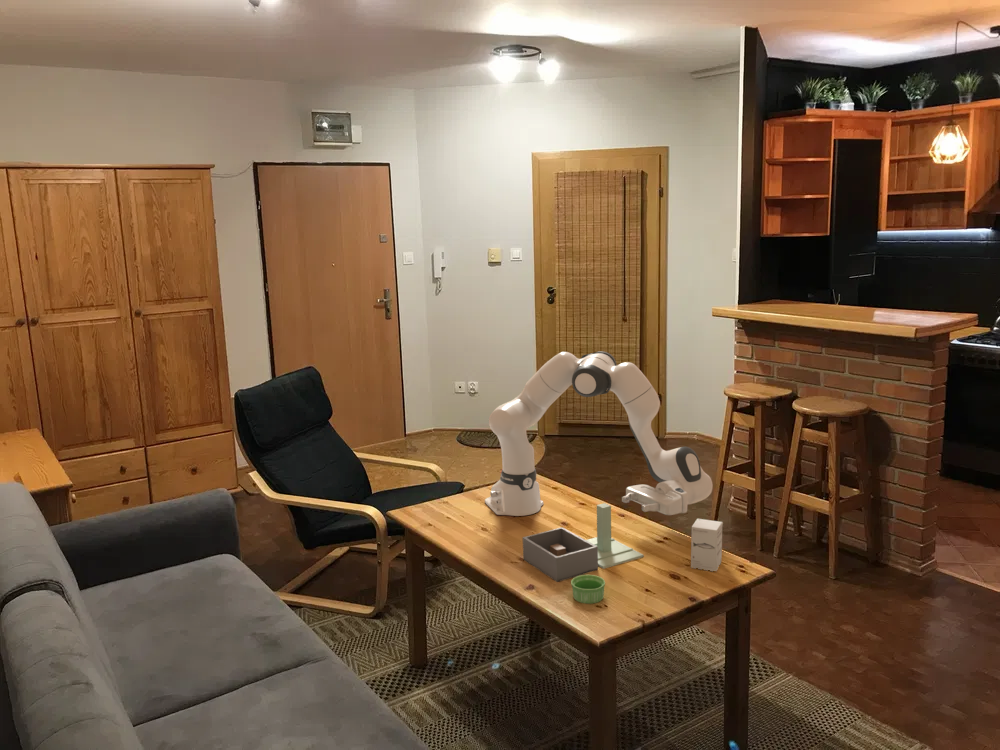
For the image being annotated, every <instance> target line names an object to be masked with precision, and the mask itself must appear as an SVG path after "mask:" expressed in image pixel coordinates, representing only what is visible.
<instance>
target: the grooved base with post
mask: <svg viewBox="0 0 1000 750" xmlns="http://www.w3.org/2000/svg"><path fill="white" fill-rule="evenodd" d="M585 540H586V541H588V542H590V543H592V544H594V545H596V546H597V547H598V568H601V569H603V570H605V569H607V568H610V567H615V566H617V565H621V564H625V563H628V562H631V561H635V560H638V559H641V558H644V554H643V553H641V552H639V551H638V550H635V549H634V548H632V547H630V546H628V545H626V544H624V543H622V542H620V541H618V540H616V539H615V538H612V506H611V505H610V504H608V503H606V502H603V503H601V504H600V503H599V504H596V536H595V537H592V538H589V539H585Z"/></svg>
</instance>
